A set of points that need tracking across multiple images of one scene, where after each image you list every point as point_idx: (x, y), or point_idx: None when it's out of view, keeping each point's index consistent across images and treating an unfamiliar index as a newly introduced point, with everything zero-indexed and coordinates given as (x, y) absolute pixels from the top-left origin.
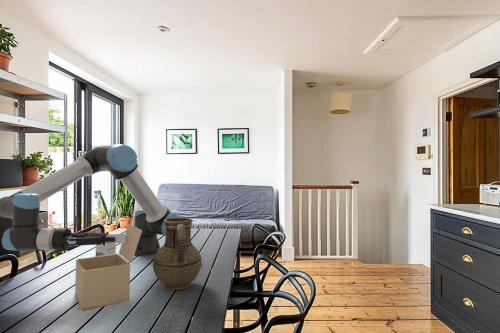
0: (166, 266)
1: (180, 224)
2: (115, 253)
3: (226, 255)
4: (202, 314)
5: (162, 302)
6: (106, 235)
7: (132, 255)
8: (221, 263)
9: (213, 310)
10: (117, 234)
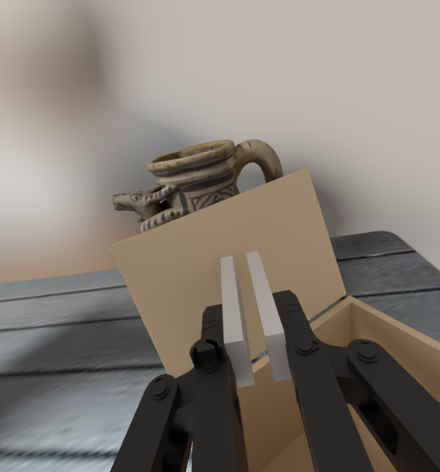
0: None
1: (251, 140)
2: None
3: (62, 282)
4: (356, 249)
5: (331, 307)
6: (283, 330)
7: (337, 268)
8: (111, 278)
9: (336, 243)
10: (236, 286)
